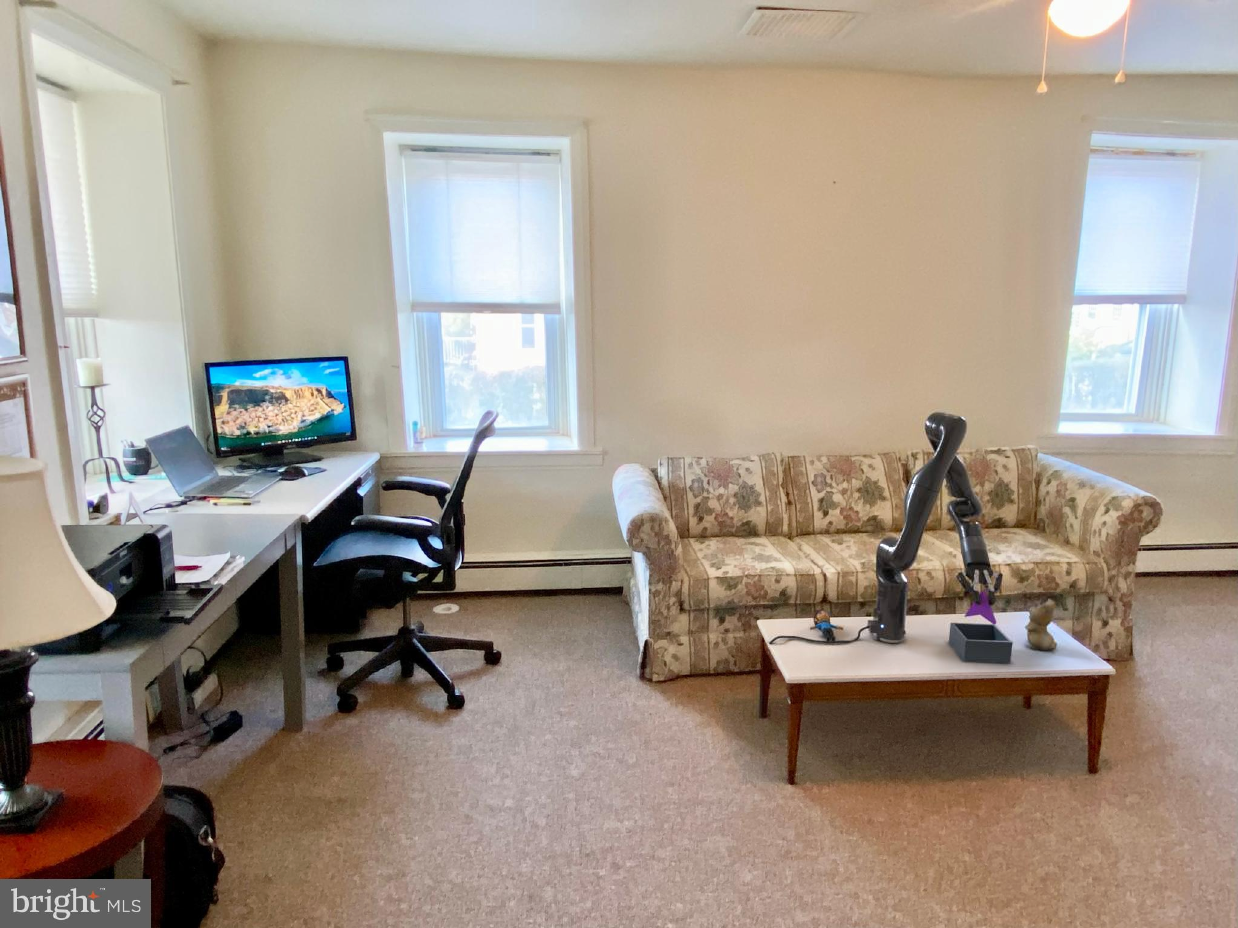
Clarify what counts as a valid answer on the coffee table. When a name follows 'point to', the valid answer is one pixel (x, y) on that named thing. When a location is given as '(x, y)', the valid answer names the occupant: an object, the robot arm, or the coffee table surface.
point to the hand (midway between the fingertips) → (985, 604)
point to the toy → (824, 624)
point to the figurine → (1041, 627)
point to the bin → (980, 643)
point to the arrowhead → (982, 609)
